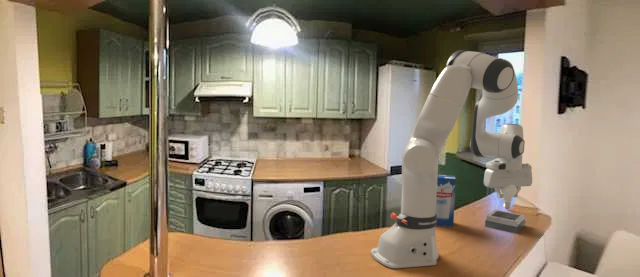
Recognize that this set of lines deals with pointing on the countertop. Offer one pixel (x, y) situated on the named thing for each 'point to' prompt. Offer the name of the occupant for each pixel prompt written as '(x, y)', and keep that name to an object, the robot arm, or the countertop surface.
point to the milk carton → (445, 200)
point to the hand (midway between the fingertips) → (507, 197)
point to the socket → (505, 221)
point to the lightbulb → (508, 195)
